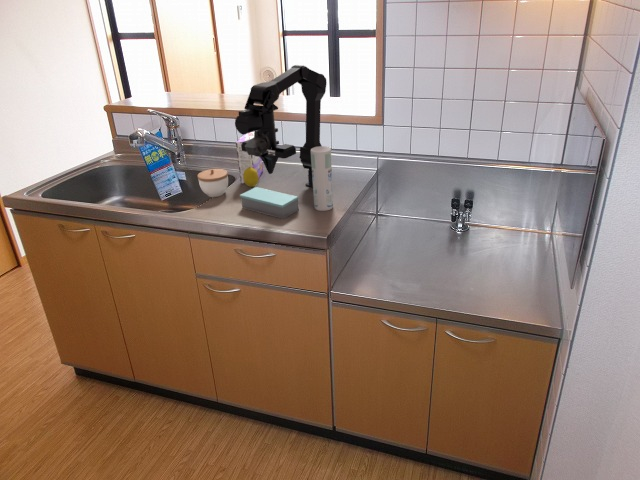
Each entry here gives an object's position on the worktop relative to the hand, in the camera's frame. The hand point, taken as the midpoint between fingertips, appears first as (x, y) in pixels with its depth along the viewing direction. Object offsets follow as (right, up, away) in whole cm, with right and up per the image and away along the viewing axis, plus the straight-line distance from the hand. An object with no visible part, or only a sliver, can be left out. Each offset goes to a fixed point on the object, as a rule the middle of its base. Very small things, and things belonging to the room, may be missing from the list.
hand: (270, 173), depth 169 cm
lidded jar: (-22, -5, +19) cm, 30 cm away
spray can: (+17, -11, +3) cm, 21 cm away
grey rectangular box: (-1, -11, +4) cm, 12 cm away
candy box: (-10, +2, +33) cm, 34 cm away
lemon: (-9, -3, +23) cm, 25 cm away
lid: (-1, -8, +2) cm, 8 cm away
